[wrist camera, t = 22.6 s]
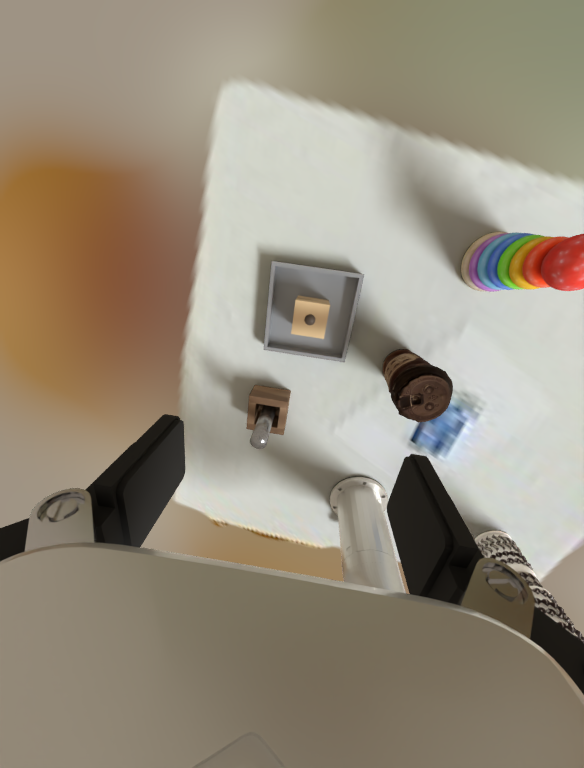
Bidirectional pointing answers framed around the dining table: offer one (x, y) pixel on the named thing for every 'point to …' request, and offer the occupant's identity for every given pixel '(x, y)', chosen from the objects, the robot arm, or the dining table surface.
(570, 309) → the dining table surface
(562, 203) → the dining table surface
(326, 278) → the tray
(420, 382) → the coffee cup
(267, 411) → the cylinder
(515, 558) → the decorative candle
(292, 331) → the oak block
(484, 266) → the stacking toy
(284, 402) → the go block
